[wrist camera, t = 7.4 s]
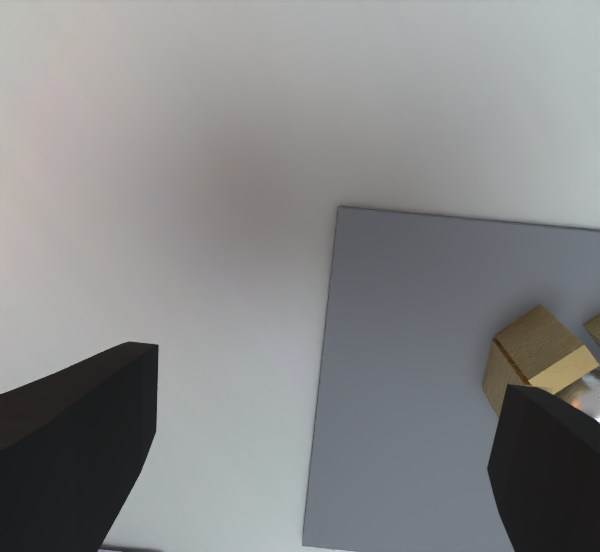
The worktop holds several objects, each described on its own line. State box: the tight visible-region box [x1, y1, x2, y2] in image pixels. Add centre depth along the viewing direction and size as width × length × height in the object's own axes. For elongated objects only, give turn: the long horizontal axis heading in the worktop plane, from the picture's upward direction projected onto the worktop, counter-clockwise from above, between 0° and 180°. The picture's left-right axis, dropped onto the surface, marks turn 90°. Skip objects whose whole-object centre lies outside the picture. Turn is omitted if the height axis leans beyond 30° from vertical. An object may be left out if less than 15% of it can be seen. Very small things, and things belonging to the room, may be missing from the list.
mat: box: [302, 206, 600, 552], centre depth 22 cm, size 15×13×1 cm
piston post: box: [554, 368, 600, 422], centre depth 19 cm, size 2×2×4 cm
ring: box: [482, 304, 600, 419], centre depth 19 cm, size 5×5×4 cm
